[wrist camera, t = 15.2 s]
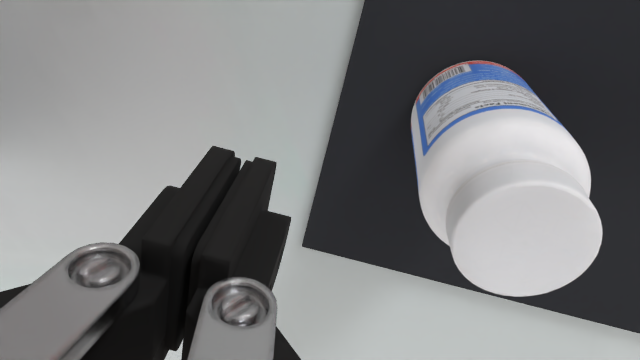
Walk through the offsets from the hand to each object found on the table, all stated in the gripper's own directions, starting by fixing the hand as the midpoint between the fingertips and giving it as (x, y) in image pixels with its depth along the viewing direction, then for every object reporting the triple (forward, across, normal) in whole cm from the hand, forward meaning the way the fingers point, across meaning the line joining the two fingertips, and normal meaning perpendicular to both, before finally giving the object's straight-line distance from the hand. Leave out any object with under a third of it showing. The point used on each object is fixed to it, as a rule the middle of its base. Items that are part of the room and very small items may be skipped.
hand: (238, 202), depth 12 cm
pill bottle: (+11, -8, 0) cm, 13 cm away
